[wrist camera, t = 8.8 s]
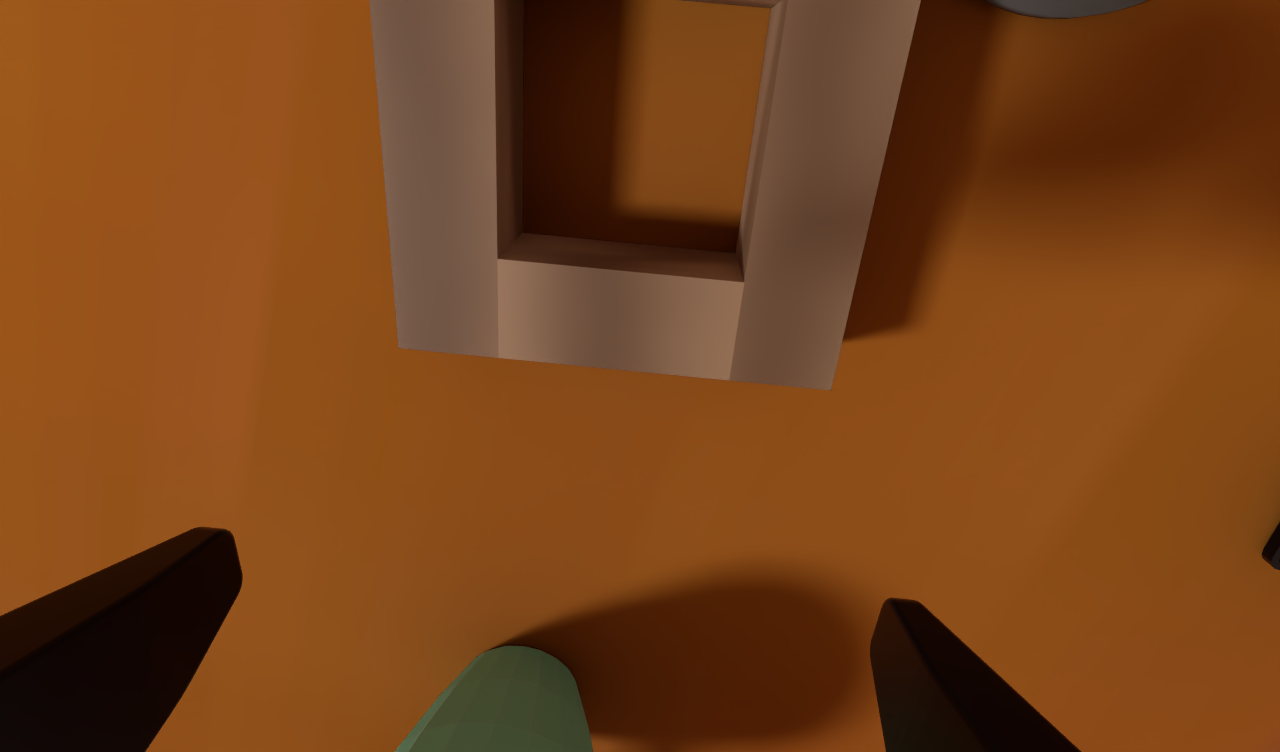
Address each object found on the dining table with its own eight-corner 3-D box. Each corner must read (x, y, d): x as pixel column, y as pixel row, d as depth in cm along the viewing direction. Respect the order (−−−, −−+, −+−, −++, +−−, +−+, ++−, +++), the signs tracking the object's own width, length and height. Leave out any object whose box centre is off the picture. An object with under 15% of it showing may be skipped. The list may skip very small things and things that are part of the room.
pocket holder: (908, -116, 16) (956, -156, 13) (811, 348, 21) (830, 390, 18) (409, -158, 16) (352, -207, 13) (435, 311, 21) (398, 347, 18)
